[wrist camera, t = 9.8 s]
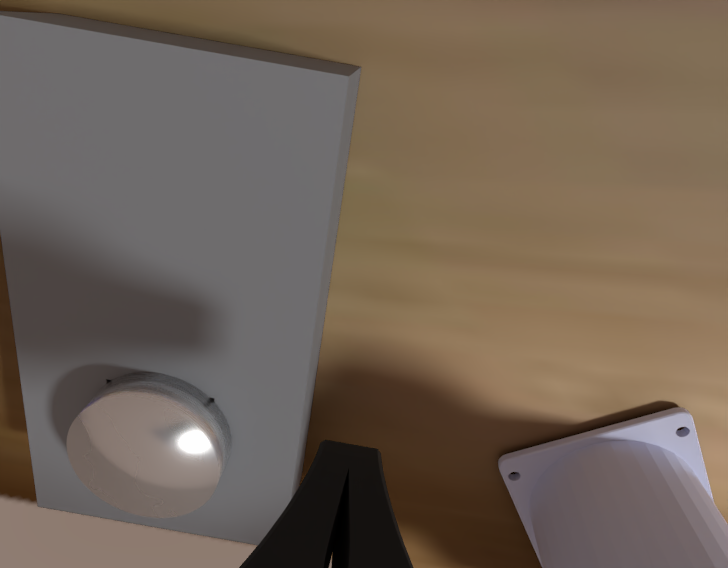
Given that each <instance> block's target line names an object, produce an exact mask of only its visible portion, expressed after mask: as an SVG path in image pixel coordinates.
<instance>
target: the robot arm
mask: <svg viewBox="0 0 728 568" xmlns="http://www.w3.org/2000/svg"><path fill="white" fill-rule="evenodd" d="M680 427H684V428H683V429H682V430H678V431H677V429H678V428H680ZM498 466H499V471H500V473H501V475H502V477H503V480H504V482H505V484H506V486H507V489H508V491H509V493H510V496H511V498H512V500H513V502H514V505H515V507H516V509H517V511H518V514H519V516H520V518H521V521H522V523H523V525H524V527H525V530H526V532H527V534H528V536H529V539H530V541H531V543H532V546H533V548H534V550H535V552H536V555H537V557H538V559H539V561H540V564H541V566H542V568H728V524H727V522H726V521H725V519H724V518H723V516H722V515H721V513H720V512H719V510H718V508H717V507H716V505H715V504H714V500H713V496H712V492H711V488H710V484H709V481H708V477H707V473H706V469H705V465H704V461H703V457H702V453H701V449H700V445H699V441H698V437H697V433H696V429H695V425H694V421H693V418H692V416H691V414H690V413H689V412H688V410H686V409H685V408H681V407H677V408H672V409H668V410H664V411H661V412H657V413H653V414H650V415H646V416H643V417H639V418H635V419H632V420H628V421H624V422H621V423H617V424H613V425H610V426H606V427H603V428H599V429H595V430H592V431H588V432H584V433H581V434H577V435H573V436H570V437H566V438H563V439H559V440H555V441H552V442H548V443H544V444H541V445H537V446H533V447H530V448H526V449H523V450H519V451H515V452H512V453H508V454H505V455H503V456H501V457H500V458H499V460H498ZM512 472H518V473H516V474H510V473H512ZM332 551H333V553H332ZM331 555H332V568H413V566H412V563H411V561H410V558H409V555H408V553H407V550H406V548H405V545H404V542H403V540H402V537H401V534H400V531H399V528H398V525H397V522H396V518H395V515H394V512H393V509H392V506H391V502H390V498H389V495H388V491H387V487H386V482H385V478H384V473H383V467H382V460H381V453H380V452H379V451H378V449H375V448H369V447H363V446H358V445H352V444H346V443H341V442H335V441H329V440H325V441H323V442H321V443H320V446H319V449H318V452H317V454H316V456H315V459H314V461H313V463H312V465H311V467H310V469H309V471H308V473H307V474H306V476H305V478H304V480H303V482H302V483H301V485H300V486H299V488H298V490H297V491H296V493H295V494H294V496H293V498H292V499H291V501H290V502H289V504H288V505H287V507H286V508H285V510H284V511H283V513H282V514H281V515H280V517H279V518H278V520H277V521H276V522H275V524H274V525H273V526H272V528H271V529H270V530H269V532H268V533H267V535H266V536H265V537H264V538H263V540H262V541H261V542H260V544H259V545H258V546H257V547H256V548H255V550H254V551H253V552H252V553H251V555H250V556H249V557H248V558H247V559H246V560H245V562H244V563H243V564H242V565H241V566H240V567H239V568H328V567H329V564H330V560H331Z"/></svg>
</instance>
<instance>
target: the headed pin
mask: <svg viewBox="0 0 728 568" xmlns="http://www.w3.org/2000/svg"><path fill="white" fill-rule="evenodd" d="M66 445H67V453H68V458H69V461H70V463H71V466H72V468H73V470H74V471H75V473H76V475H77V476H78V477H79V479H80V480H81V482H82V483H83V484H84V485H85V486H86V487H87V488H88V489H89V490H90V491H91V492H92V493H94V494H95V495H96V496H97V497H99V498H100V499H102V500H103V501H105V502H106V503H108V504H110V505H112V506H114V507H116V508H118V509H120V510H123V511H125V512H128V513H131V514H135V515H139V516H144V517H151V518H170V517H177V516H182V515H185V514H188V513H191V512H192V511H194V510H196V509H198V508H200V507H201V506H202V505H204V504H205V503H206V502H207V501H208V500H209V499H210V497H211V496H212V494H213V493H214V491H215V489H216V487H217V484H218V482H219V479H220V477H221V475H222V472H223V470H224V467H225V465H226V463H227V460H228V458H229V455H230V452H231V446H232V437H231V431H230V427H229V424H228V422H227V419H226V418H225V416H224V414H223V412H222V411H221V410H220V408H219V407H218V406H217V404H216V403H215V402H214V398H210V397H209V396H208V395H206V394H205V393H204V392H203V391H201V390H200V389H198V388H197V387H196V386H194V385H192V384H190V383H188V382H186V381H184V380H182V379H179V378H177V377H174V376H170V375H167V374H162V373H155V372H136V373H129V374H126V375H122V376H119V377H117V378H115V379H113V380H111V381H110V382H108V383H107V384H105V385H104V386H103V387H102V388H101V389H100V390H99V391H98V393H97V394H96V395H95V396H94V397H93V398H92V400H91V401H90V402H89V403H88V404H87V405H86V407H85V408H84V409H83V410H82V411H81V412H80V414H79V415H78V416H77V417H76V418H75V420H74V421H73V422H72V424H71V426H70V428H69V431H68V435H67V443H66Z"/></svg>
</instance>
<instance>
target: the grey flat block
mask: <svg viewBox="0 0 728 568" xmlns="http://www.w3.org/2000/svg"><path fill="white" fill-rule="evenodd" d="M360 72H361V67H359V66H353V65H348V64H342V63H336V62H331V61H325V60H319V59H314V58H308V57H302V56H297V55H291V54H285V53H280V52H274V51H268V50H263V49H257V48H251V47H245V46H240V45H234V44H228V43H223V42H217V41H211V40H206V39H200V38H194V37H189V36H183V35H177V34H172V33H166V32H160V31H155V30H149V29H143V28H138V27H132V26H126V25H120V24H115V23H109V22H103V21H98V20H92V19H86V18H81V17H75V16H69V15H64V14H55V13H33V12H10V11H0V234H1V241H2V249H3V256H4V263H5V271H6V278H7V285H8V293H9V300H10V307H11V314H12V322H13V329H14V336H15V344H16V351H17V358H18V366H19V373H20V380H21V388H22V395H23V402H24V409H25V417H26V424H27V431H28V439H29V446H30V453H31V461H32V468H33V475H34V483H35V490H36V497H37V504H38V507H43V508H49V509H55V510H60V511H66V512H72V513H77V514H83V515H89V516H95V517H100V518H106V519H112V520H117V521H123V522H129V523H134V524H140V525H146V526H151V527H157V528H163V529H168V530H174V531H180V532H185V533H191V534H197V535H203V536H208V537H214V538H220V539H225V540H231V541H237V542H242V543H248V544H254V545H259V544H260V542H261V541H262V540H263V538H264V537H265V536H266V535H267V533H268V532H269V530H270V529H271V528H272V526H273V525H274V524H275V522H276V521H277V520H278V518H279V517H280V515H281V514H282V513H283V511H284V510H285V508H286V507H287V505H288V504H289V502H290V501H291V499H292V498H293V496H294V494H295V493H296V491H297V490H298V488H299V485H300V481H301V476H302V470H303V463H304V456H305V449H306V442H307V435H308V429H309V422H310V415H311V408H312V401H313V394H314V387H315V381H316V374H317V367H318V360H319V353H320V346H321V339H322V333H323V326H324V319H325V312H326V305H327V298H328V291H329V284H330V278H331V271H332V264H333V257H334V250H335V243H336V236H337V230H338V223H339V216H340V209H341V202H342V195H343V188H344V182H345V175H346V168H347V161H348V154H349V147H350V140H351V134H352V127H353V120H354V113H355V106H356V99H357V92H358V86H359V79H360ZM136 372H155V373H162V374H167V375H170V376H174V377H177V378H179V379H182V380H184V381H186V382H188V383H190V384H192V385H194V386H196V387H197V388H198V389H200V390H201V391H203V392H204V393H205V394H206V395H208V396H209V397H210V398H214V402H215V403H216V404H217V406H218V407H219V408H220V410H221V411H222V412H223V414H224V416H225V418H226V419H227V422H228V424H229V427H230V431H231V437H232V446H231V452H230V455H229V458H228V460H227V463H226V465H225V467H224V470H223V472H222V475H221V477H220V479H219V482H218V484H217V487H216V489H215V491H214V493H213V494H212V496H211V497H210V499H209V500H208V501H207V502H206V503H205V504H204V505H202V506H201V507H200V508H198V509H196V510H194V511H192V512H191V513H188V514H185V515H182V516H177V517H170V518H151V517H144V516H139V515H135V514H131V513H128V512H125V511H123V510H120V509H118V508H116V507H114V506H112V505H110V504H108V503H106V502H105V501H103V500H102V499H100V498H99V497H97V496H96V495H95V494H94V493H92V492H91V491H90V490H89V489H88V488H87V487H86V486H85V485H84V484H83V483H82V482H81V480H80V479H79V477H78V476H77V475H76V473H75V471H74V470H73V468H72V466H71V463H70V461H69V458H68V453H67V445H66V443H67V435H68V431H69V428H70V426H71V424H72V422H73V421H74V420H75V418H76V417H77V416H78V415H79V414H80V412H81V411H82V410H83V409H84V408H85V407H86V405H87V404H88V403H89V402H90V401H91V400H92V398H93V397H94V396H95V395H96V394H97V393H98V391H99V390H100V389H101V388H102V387H103V386H104V385H105V384H107V383H108V382H110V381H111V380H113V379H115V378H117V377H119V376H122V375H126V374H129V373H136Z"/></svg>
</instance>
